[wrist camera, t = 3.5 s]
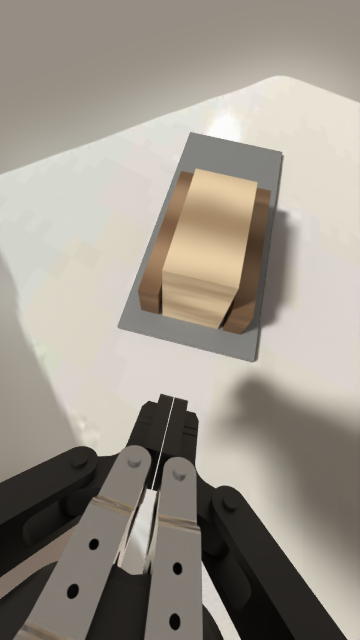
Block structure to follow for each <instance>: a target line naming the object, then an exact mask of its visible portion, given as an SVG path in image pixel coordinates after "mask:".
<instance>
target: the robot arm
mask: <svg viewBox="0 0 360 640" xmlns="http://www.w3.org/2000/svg"><path fill="white" fill-rule="evenodd" d="M173 398H174V397H171V396H167V395H164V394H160V397H159V400H158V403H155V402H151V401H148V402H147V403H146V404H144V405H143V406H142V408H141V410H140V413H139V415H138V418H137V421H136V423H135V425H134V428H133V430H132V433H131V435H130V438H129V440H128V443H127V445H126V447H125V448H124V449H123V450H122V451H121V452H120V453H118V454H115V455H112V456H97V454H96V452H95V451H94V450H93V449H91V448H89V447H85V446H79V447H75V448H72V449H70V450H68V451H66V452H64V453H62V454H60V455H58V456H56V457H54V458H51V459H49V460H48V461H45V462H43V463H41V464H39V465H37V466H35V467H33V468H31V469H29V470H26V471H24V472H22V473H20V474H18V475H16V476H14V477H12V478H10V479H7V480H5V481H3V482H1V483H0V577H2V576H3V575H4V574H6V573H7V572H9V571H10V570H11V569H13V568H15V567H16V566H17V565H19V564H20V563H22V562H23V561H24V560H26V559H27V558H29V557H30V556H32V555H33V554H35V553H36V552H38V551H39V550H40V549H42V548H43V547H45V546H46V545H48V544H49V543H50V542H52V541H53V540H55V539H56V538H58V537H59V536H60V535H62V534H64V533H65V532H66V531H68V530H69V529H71V528H72V527H74V526H75V525H76V524H78V525H77V527H76V529H75V531H74V533H73V535H72V536H71V538H70V540H69V542H68V544H67V546H66V548H65V550H64V552H63V553H62V555H61V557H60V559H59V561H57V562H53V563H51V564H49V565H47V566H45V567H43V568H41V569H39V570H38V571H36V572H35V573H33V574H32V575H31V576H29V577H28V578H27V579H26V580H24V581H23V582H22V583H20V584H19V585H18V586H16V587H15V588H14V589H13V590H11V591H10V592H9V593H8V594H6V595H5V596H4V597H2V598H1V599H0V640H224V639H223V637H222V634H221V632H220V630H219V628H218V626H217V624H216V622H215V621H214V619H213V617H212V616H211V614H210V613H209V611H208V610H207V609H206V607H205V606H204V605H203V604H202V568H201V560H202V562H203V564H204V566H205V568H206V570H207V572H208V574H209V576H210V578H211V580H212V582H213V584H214V586H215V588H216V590H217V592H218V594H219V596H220V598H221V600H222V602H223V604H224V606H225V608H226V610H227V612H228V614H229V616H230V618H231V620H232V622H233V624H234V626H235V628H236V630H237V632H238V634H239V636H240V638H241V640H347V638H346V637H345V636H344V634H343V633H342V632H341V630H340V629H339V627H338V626H337V625H336V623H335V622H334V621H333V619H332V618H331V616H330V615H329V614H328V612H327V611H326V610H325V608H324V607H323V606H322V604H321V603H320V601H319V600H318V599H317V597H316V596H315V595H314V593H313V592H312V590H311V589H310V588H309V586H308V585H307V584H306V582H305V581H304V579H303V578H302V577H301V575H300V574H299V573H298V571H297V570H296V568H295V567H294V566H293V564H292V563H291V562H290V560H289V559H288V558H287V556H286V555H285V553H284V552H283V551H282V549H281V548H280V547H279V545H278V544H277V542H276V541H275V540H274V538H273V537H272V536H271V534H270V533H269V531H268V530H267V529H266V527H265V526H264V525H263V523H262V522H261V520H260V519H259V518H258V516H257V515H256V514H255V512H254V511H253V510H252V508H251V507H250V505H249V504H248V503H247V501H246V500H245V499H244V497H243V496H242V495H241V493H240V492H238V491H237V490H236V489H234V488H233V487H230V486H220V487H218V488H214V487H212V486H211V485H209V484H208V483H206V482H205V481H204V480H203V479H202V478H201V477H200V476H199V474H198V473H197V471H196V467H195V458H196V446H197V435H198V423H199V421H198V418H197V416H196V413H193V412H189V411H186V410H187V404H188V401H187V400H183V399H179V398H175V399H174V403H173V407H172V411H171V415H170V419H169V423H168V418H169V414H170V410H171V406H172V402H173ZM167 423H168V427H167ZM166 427H167V431H166ZM165 431H166V435H165ZM164 435H165V439H164ZM163 439H164V444H163V448H162V443H163ZM161 448H162V452H161ZM160 452H161V456H160ZM159 456H160V460H159ZM158 460H159V465H158V469H157V473H156V477H155V482H154V486H153V490H155V491H157V493H156V498H155V502H154V506H153V510H152V517H151V523H150V530H149V537H148V544H147V551H146V558H145V564H144V569H143V574H141V575H131V574H129V573H127V572H126V571H124V570H123V569H122V568H120V567H121V563H122V560H123V557H124V554H125V551H126V548H127V545H128V542H129V539H130V536H131V533H132V530H133V528H134V525H135V522H136V519H137V516H138V513H139V510H140V507H141V504H142V503H143V500H144V497H145V493H146V489H151V488H152V484H153V480H154V476H155V472H156V468H157V464H158Z"/></svg>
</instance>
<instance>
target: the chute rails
mask: <svg viewBox="0 0 360 640" xmlns="http://www.w3.org/2000/svg"><path fill="white" fill-rule="evenodd" d="M193 176H194V173H189V172H185V171H181V172H180V175H179V178H178V181H177V184H176V186H175V189H174V192H173V195H172V197H171V200H170V203H169V206H168V208H167V211H166V214H165V217H164V219H163V222H162V225H161V228H160V230H159V233H158V236H157V239H156V241H155V244H154V247H153V250H152V252H151V255H150V258H149V261H148V263H147V266H146V269H145V272H144V274H143V277H142V280H141V283H140V285H139V288H138V295H139V300H140V306H141V310H143V311H147V312H151V313H155V314H159V312H160V308H161V305H162V269H163V266H164V263H165V260H166V257H167V254H168V251H169V248H170V245H171V242H172V239H173V236H174V233H175V230H176V227H177V224H178V221H179V218H180V215H181V212H182V209H183V206H184V203H185V200H186V197H187V194H188V191H189V188H190V185H191V182H192V179H193ZM270 197H271V191H270V190H265V189H261V188H257V189H256V194H255V200H254V206H253V211H252V217H251V222H250V228H249V234H248V239H247V245H246V250H245V256H244V261H243V267H242V273H241V278H240V284H239V289H238V291H237V293H236V295H235V297H234V299H233V300H232V302H231V304H230V306H229V308H228V310H227V312H226V315H225V320H224V325H223V331H227V332H231V333H235V334H239V335H241V333H242V332H243V331H244V330H245V328H246V327H247V326H248V324H249V323H250V322H251V321H252V319H253V314H254V308H255V301H256V294H257V287H258V280H259V273H260V266H261V259H262V252H263V246H264V239H265V232H266V225H267V218H268V211H269V204H270Z"/></svg>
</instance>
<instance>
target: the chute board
mask: <svg viewBox="0 0 360 640" xmlns="http://www.w3.org/2000/svg"><path fill="white" fill-rule="evenodd" d="M281 156H282V152H280V151H275V150H270V149H266V148H261V147H257V146H252V145H247V144H243V143H238V142H234V141H229V140H224V139H220V138H215V137H211V136H206V135H201V134H197V133H192V132H190V134H189V137H188V140H187V142H186V145H185V148H184V150H183V153H182V156H181V158H180V161H179V164H178V166H177V169H176V172H175V174H174V177H173V180H172V182H171V185H170V188H169V190H168V193H167V196H166V198H165V201H164V204H163V206H162V209H161V212H160V214H159V217H158V220H157V222H156V225H155V228H154V230H153V233H152V236H151V238H150V241H149V244H148V246H147V249H146V252H145V254H144V257H143V260H142V262H141V265H140V268H139V270H138V273H137V276H136V278H135V281H134V284H133V286H132V289H131V292H130V294H129V297H128V300H127V302H126V305H125V308H124V310H123V313H122V316H121V318H120V321H119V324H118V328H120V329H124V330H127V331H131V332H135V333H139V334H143V335H147V336H151V337H155V338H159V339H163V340H167V341H171V342H175V343H178V344H182V345H186V346H190V347H194V348H198V349H202V350H206V351H210V352H214V353H218V354H222V355H226V356H230V357H233V358H237V359H241V360H245V361H249V362H253V361H254V359H255V351H256V344H257V336H258V329H259V321H260V314H261V306H262V299H263V291H264V284H265V276H266V269H267V261H268V254H269V246H270V239H271V231H272V224H273V216H274V209H275V201H276V194H277V186H278V179H279V171H280V164H281ZM195 169H201V170H205V171H210V172H214V173H219V174H223V175H228V176H232V177H237V178H241V179H245V180H250V181H254V182H258V183H257V188H261V189H265V190H270V191H271V197H270V204H269V211H268V218H267V225H266V232H265V239H264V246H263V252H262V259H261V266H260V273H259V280H258V287H257V294H256V301H255V308H254V314H253V319H252V321H251V322H250V323H249V324H248V326H247V327H246V328H245V330H244V331H243V332H242V333H241V335H239V334H235V333H231V332H227V331H223V325H224V320H225V316H224V318H223V320H222V322H221V324H220V325H219V327H218V329H215V328H211V327H207V326H203V325H199V324H195V323H191V322H187V321H183V320H179V319H175V318H171V317H167V316H163V307H162V305H161V308H160V312H159V314H155V313H151V312H147V311H143V310H141V306H140V300H139V295H138V288H139V285H140V283H141V280H142V277H143V274H144V272H145V269H146V266H147V263H148V261H149V258H150V255H151V252H152V250H153V247H154V244H155V241H156V239H157V236H158V233H159V230H160V228H161V225H162V222H163V219H164V217H165V214H166V211H167V208H168V206H169V203H170V200H171V197H172V195H173V192H174V189H175V186H176V184H177V181H178V178H179V175H180V172H181V171H185V172H189V173H194V172H195ZM225 315H226V314H225Z"/></svg>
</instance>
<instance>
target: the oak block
mask: <svg viewBox="0 0 360 640" xmlns="http://www.w3.org/2000/svg"><path fill="white" fill-rule="evenodd" d="M257 183H258V182H254V181H250V180H245V179H241V178H237V177H232V176H228V175H223V174H219V173H214V172H210V171H205V170H201V169H195V172H194V176H193V179H192V182H191V185H190V188H189V191H188V194H187V197H186V200H185V203H184V206H183V209H182V212H181V215H180V218H179V221H178V224H177V227H176V230H175V233H174V236H173V239H172V242H171V245H170V248H169V251H168V254H167V257H166V260H165V263H164V266H163V269H162V307H163V316H167V317H171V318H175V319H179V320H183V321H187V322H191V323H195V324H199V325H203V326H207V327H211V328H215V329H218V327H219V325H220V324H221V322H222V320H223V318H224V316H225V314H226V312H227V310H228V308H229V306H230V304H231V302H232V300H233V299H234V297H235V295H236V293H237V291H238V289H239V284H240V278H241V273H242V267H243V261H244V256H245V250H246V245H247V239H248V234H249V228H250V222H251V217H252V211H253V206H254V200H255V194H256V189H257Z"/></svg>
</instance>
